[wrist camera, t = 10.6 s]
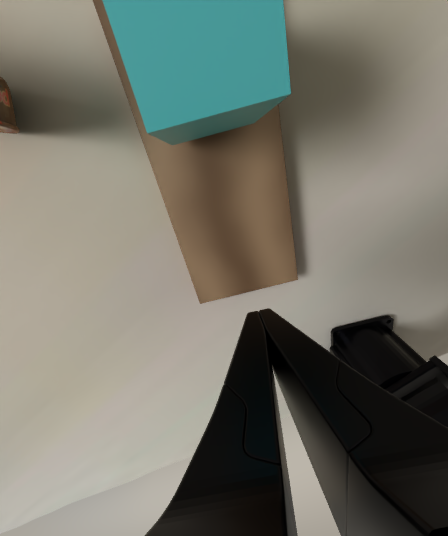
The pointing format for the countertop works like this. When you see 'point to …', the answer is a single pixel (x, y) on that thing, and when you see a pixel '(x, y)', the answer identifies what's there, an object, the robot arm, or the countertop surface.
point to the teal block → (202, 62)
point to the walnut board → (223, 199)
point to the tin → (6, 110)
